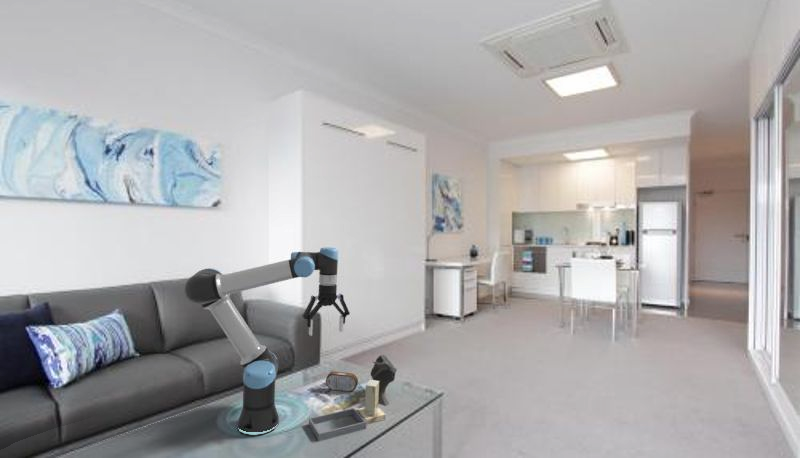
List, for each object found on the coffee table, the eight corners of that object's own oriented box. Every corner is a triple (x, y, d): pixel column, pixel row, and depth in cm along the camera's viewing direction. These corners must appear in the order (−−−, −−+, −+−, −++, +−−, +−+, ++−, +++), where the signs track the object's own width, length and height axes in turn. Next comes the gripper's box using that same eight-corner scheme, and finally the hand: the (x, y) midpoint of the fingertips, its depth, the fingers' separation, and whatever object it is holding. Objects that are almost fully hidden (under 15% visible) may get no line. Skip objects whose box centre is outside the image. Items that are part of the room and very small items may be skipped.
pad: (365, 424, 162) (365, 419, 162) (356, 413, 169) (356, 409, 169) (385, 419, 166) (385, 414, 166) (375, 409, 174) (375, 404, 174)
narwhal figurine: (403, 392, 190) (405, 355, 189) (385, 406, 177) (387, 365, 176) (378, 384, 198) (379, 348, 196) (359, 396, 184) (360, 358, 183)
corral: (318, 440, 149) (318, 434, 149) (308, 424, 160) (308, 418, 160) (366, 428, 159) (366, 422, 159) (353, 413, 170) (353, 407, 169)
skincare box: (374, 416, 164) (375, 387, 163) (364, 414, 165) (365, 385, 164) (378, 408, 170) (379, 380, 170) (368, 407, 171) (369, 379, 171)
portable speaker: (358, 390, 191) (358, 372, 190) (356, 393, 188) (357, 375, 187) (326, 387, 192) (327, 370, 192) (324, 390, 189) (325, 372, 189)
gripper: (301, 287, 164) (299, 338, 165) (358, 284, 176) (356, 332, 178) (296, 283, 171) (294, 333, 172) (351, 280, 183) (349, 327, 184)
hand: (325, 332), depth 175 cm, fingers open, 13 cm apart
